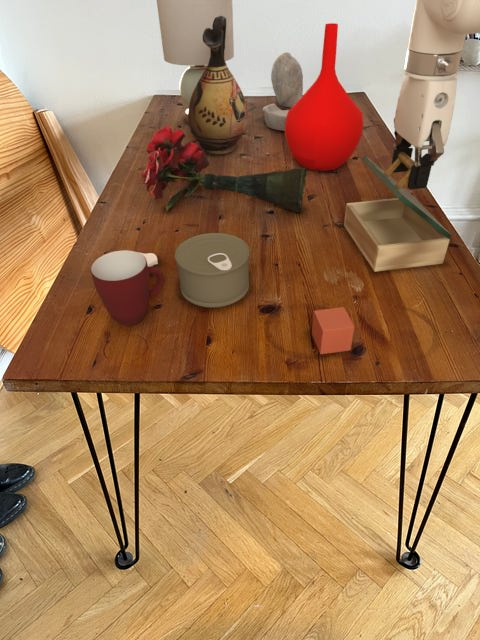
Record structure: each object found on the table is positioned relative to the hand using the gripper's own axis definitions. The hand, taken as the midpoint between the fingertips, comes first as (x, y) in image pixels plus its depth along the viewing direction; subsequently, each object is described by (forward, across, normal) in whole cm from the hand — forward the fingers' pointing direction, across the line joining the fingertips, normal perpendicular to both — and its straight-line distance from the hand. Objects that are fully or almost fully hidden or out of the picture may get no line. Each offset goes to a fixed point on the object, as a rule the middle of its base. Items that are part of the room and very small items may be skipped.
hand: (407, 178), depth 82 cm
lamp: (+13, +80, +27) cm, 86 cm away
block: (+13, -24, +20) cm, 34 cm away
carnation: (+13, +24, +29) cm, 40 cm away
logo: (+13, +2, +48) cm, 50 cm away
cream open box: (+13, 0, +1) cm, 13 cm away
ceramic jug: (+13, +56, +25) cm, 63 cm away
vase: (+13, +39, +2) cm, 41 cm away
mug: (+13, -12, +48) cm, 51 cm away
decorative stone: (+13, +88, -1) cm, 89 cm away
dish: (+13, +68, +3) cm, 69 cm away
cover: (+3, 0, 0) cm, 3 cm away
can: (+13, -7, +35) cm, 38 cm away
